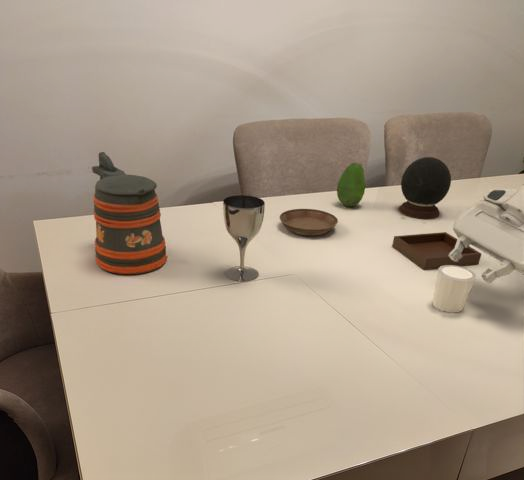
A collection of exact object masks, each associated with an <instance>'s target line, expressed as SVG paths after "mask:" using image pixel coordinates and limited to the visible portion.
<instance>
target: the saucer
mask: <svg viewBox="0 0 524 480" xmlns="http://www.w3.org/2000/svg"><path fill="white" fill-rule="evenodd" d="M279 220H280V222H281V224H282V225H283V227H285V228H286V229H287V230H288V231H290V232H292V233H294V234H297V235H301V236H309V237H311V236H312V237H313V236H314V237H315V236H321V235H325V234H327V233H328V232H331V230H333V229H334V228H335V227H336V225H338V223H339V218H337V217H336V216H335V215H334V214H332V213H330V212H327V211H324V210H320V209H314V208H294V209H289V210H286V211H283V212H281V214H280V215H279Z"/></svg>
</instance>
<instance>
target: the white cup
mask: <svg viewBox="0 0 524 480" xmlns="http://www.w3.org/2000/svg"><path fill="white" fill-rule="evenodd" d="M476 278H477V274H476V273H475V272H474V271H473V270H471V269H469V268H467V267H465V266H455V265H444V266H441V267H439V268H438V269H437V273H436V280H435V284H434V285H435V286H434V292H433V297H432V305H433V306H434V307H435V308H436V309H438V310H439V311H442V312H444V313H445V312H446V313H459V312H461V311H462V310H463V308H464V306H465V304H466V302H467V300H468V297H469V295H470V292H471V290H472V288H473V286H474V284H475V280H476Z"/></svg>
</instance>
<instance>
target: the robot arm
mask: <svg viewBox="0 0 524 480" xmlns="http://www.w3.org/2000/svg"><path fill="white" fill-rule="evenodd" d="M482 198H483V199H482V200H478V201H476V202H474V203H473V204H472V205H470V206H469V207H468V208H466V210H464V211H463V213H461V214H460V215H459V216H458V217H457V218H456V220H455V221H454V222H453V226H452V230H453V232H454V233H455V235H456V237H457V239H458V240H457V242H456V245H455V248H454V249H453V250H452V251H451V252H450V253H449V257H450V259H452V260H453V261H455V262H458V261H459V259H461V258H462V257H463V256H462V254H461V253H462V251H463V249H464V247H465V248H467V247H468V246H470V245H471V246H472V247H474V248H476V249H478V250H479V251H481V252H483V253H485V254H486V255H488V256H490V257H492V258H493V259H495V260H496V261H498V262H500V265H499V266H497V267H495V268H492V269H490V268H487V269H485V271H484V272H482V274H481V278H482V279H483V281H485V282H486V283H488V284H492V283H493V282H494V281H495V280H496V279H497V278H500V277H503V276H506V275H507V276H508V275H509V274H511V273H512V272H514V271H516V272H518V273H520V274H521V275H523V276H524V183H523V184H522V185H521V186H520V187H519V188H511V189H510V188H509V189H508V188H507V189H501V188H500V189H498V188H491V189H488V190H487V191H486V192H485V193H484V194H483V196H482Z"/></svg>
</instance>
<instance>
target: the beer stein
mask: <svg viewBox="0 0 524 480" xmlns="http://www.w3.org/2000/svg"><path fill="white" fill-rule="evenodd" d="M91 170H92V171H91V172H92V173H93V174H96V175H97V176H99V180H97V181H96V183H95V186H94V194H93V196H92V198H93V218H94V220H95V233H96V237H95V238H94V248H95V249H94V250H95V251H94V252H95V263H96V265H97V266H98V267H100V268H101V269H102V270H103V271H106V272H109V273H111V274H117V275H140V274H147V273H150V272H153V271H155V270H157V269H159V268H161V267H163V266H164V265H165V264H166V261H167V260H168V255H167V246H166V240H165V237H164V235H163V228H162V222H161V216H162V215H161V208H160V204H159V198H158V194H157V193H156V189H157V187H158V185H157V183H156V182H155V180H152V179H150V178H149V177H146V176H141V175H137V174H128V173H125V171H124V170H122V169H119V168H118V167H116V166H115V165H114V163H113V161H112V159H111V157H110V156H109V155H108V154H106V152H104V151H100V152H99V153H98V165H94V166H92V167H91Z"/></svg>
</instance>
